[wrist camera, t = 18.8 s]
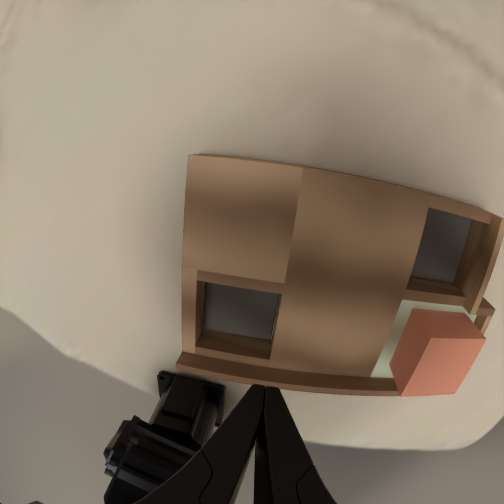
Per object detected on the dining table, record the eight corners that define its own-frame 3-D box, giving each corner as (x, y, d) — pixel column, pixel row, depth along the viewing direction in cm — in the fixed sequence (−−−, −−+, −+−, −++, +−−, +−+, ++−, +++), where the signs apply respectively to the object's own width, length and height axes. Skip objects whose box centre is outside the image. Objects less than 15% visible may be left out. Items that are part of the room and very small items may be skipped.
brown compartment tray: (437, 365, 22) (452, 393, 18) (191, 339, 23) (176, 369, 20) (496, 213, 17) (526, 227, 13) (200, 153, 18) (179, 155, 15)
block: (439, 364, 19) (454, 393, 16) (388, 364, 19) (400, 396, 16) (464, 312, 17) (486, 339, 14) (412, 308, 18) (430, 337, 14)
